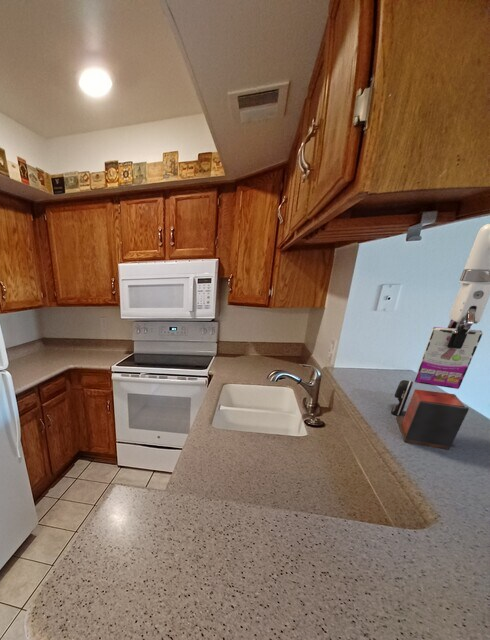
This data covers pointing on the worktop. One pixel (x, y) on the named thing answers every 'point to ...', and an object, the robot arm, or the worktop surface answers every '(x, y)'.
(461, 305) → the robot arm
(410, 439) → the wooden speaker
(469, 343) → the candy bar box
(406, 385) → the battery charger
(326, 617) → the worktop surface
